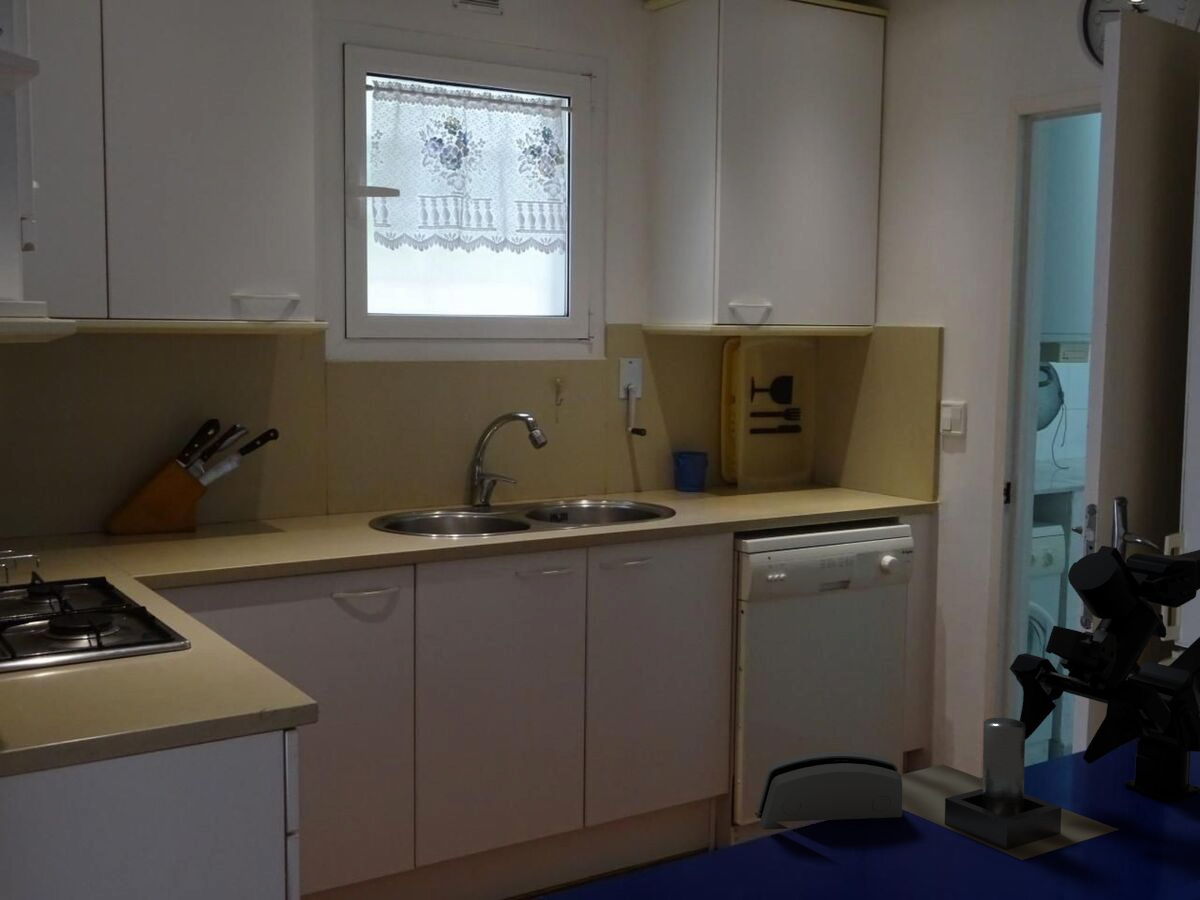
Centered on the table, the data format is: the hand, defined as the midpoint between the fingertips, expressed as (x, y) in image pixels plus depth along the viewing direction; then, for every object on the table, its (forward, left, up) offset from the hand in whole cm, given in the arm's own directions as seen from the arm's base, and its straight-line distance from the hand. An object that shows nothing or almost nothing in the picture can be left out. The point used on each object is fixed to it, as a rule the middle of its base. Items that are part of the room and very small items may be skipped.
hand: (1052, 750), depth 154 cm
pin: (+8, 0, -8) cm, 11 cm away
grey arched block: (+21, -14, -9) cm, 27 cm away
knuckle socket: (+8, 0, -8) cm, 11 cm away
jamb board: (+5, -6, -9) cm, 12 cm away
